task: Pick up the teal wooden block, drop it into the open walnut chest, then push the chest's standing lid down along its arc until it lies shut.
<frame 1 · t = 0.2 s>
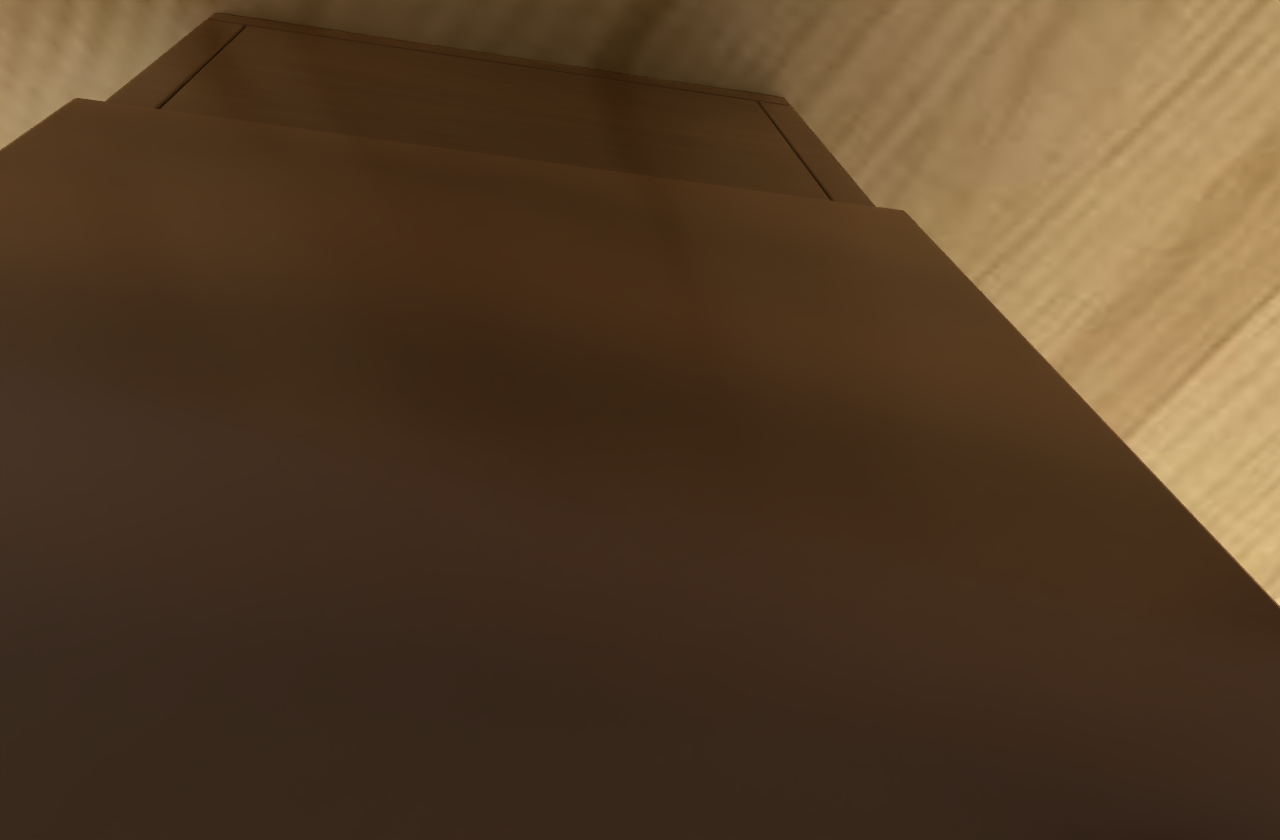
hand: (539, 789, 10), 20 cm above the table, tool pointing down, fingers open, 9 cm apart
chest: (474, 372, 30), on the table
lid: (509, 433, 11), point 17 cm above the table, hinge at 90.8°
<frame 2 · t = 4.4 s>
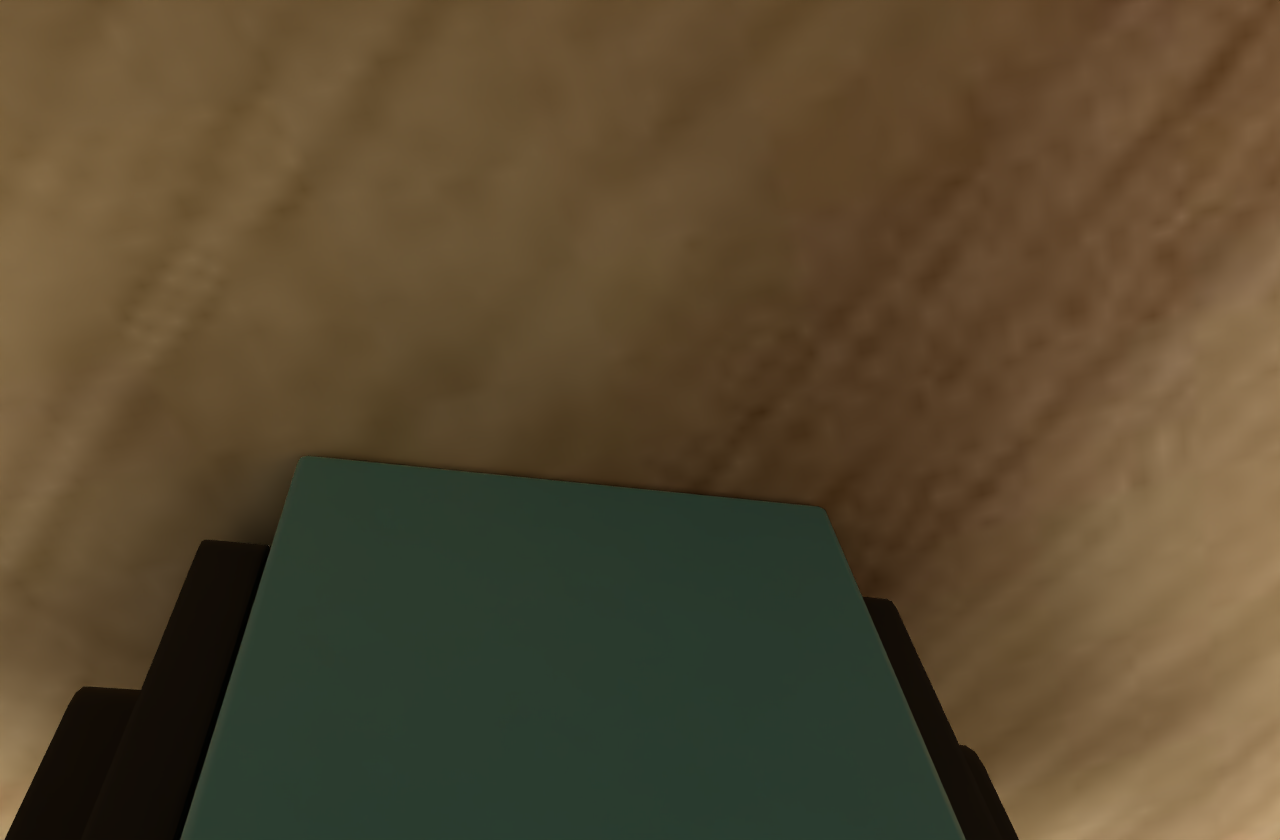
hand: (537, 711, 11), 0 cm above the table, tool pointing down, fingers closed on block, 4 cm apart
block: (537, 684, 11), on the table, touching gripper
when the fingers open (7 cm above the table, at t = 11.5 s): block drops 6 cm, resting on chest.
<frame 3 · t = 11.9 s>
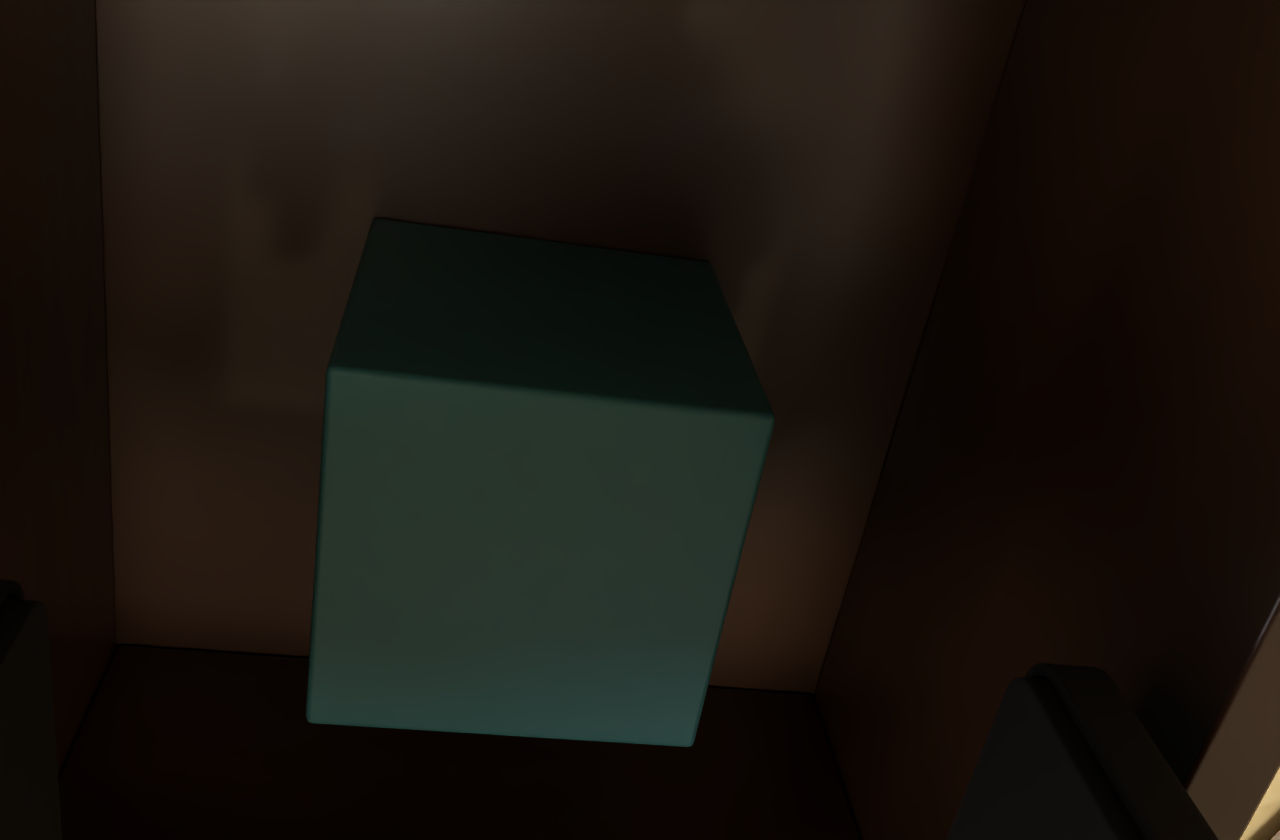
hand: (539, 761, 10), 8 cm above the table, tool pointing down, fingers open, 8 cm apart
block: (524, 390, 17), point 1 cm above the table, touching chest
chest: (539, 233, 17), on the table
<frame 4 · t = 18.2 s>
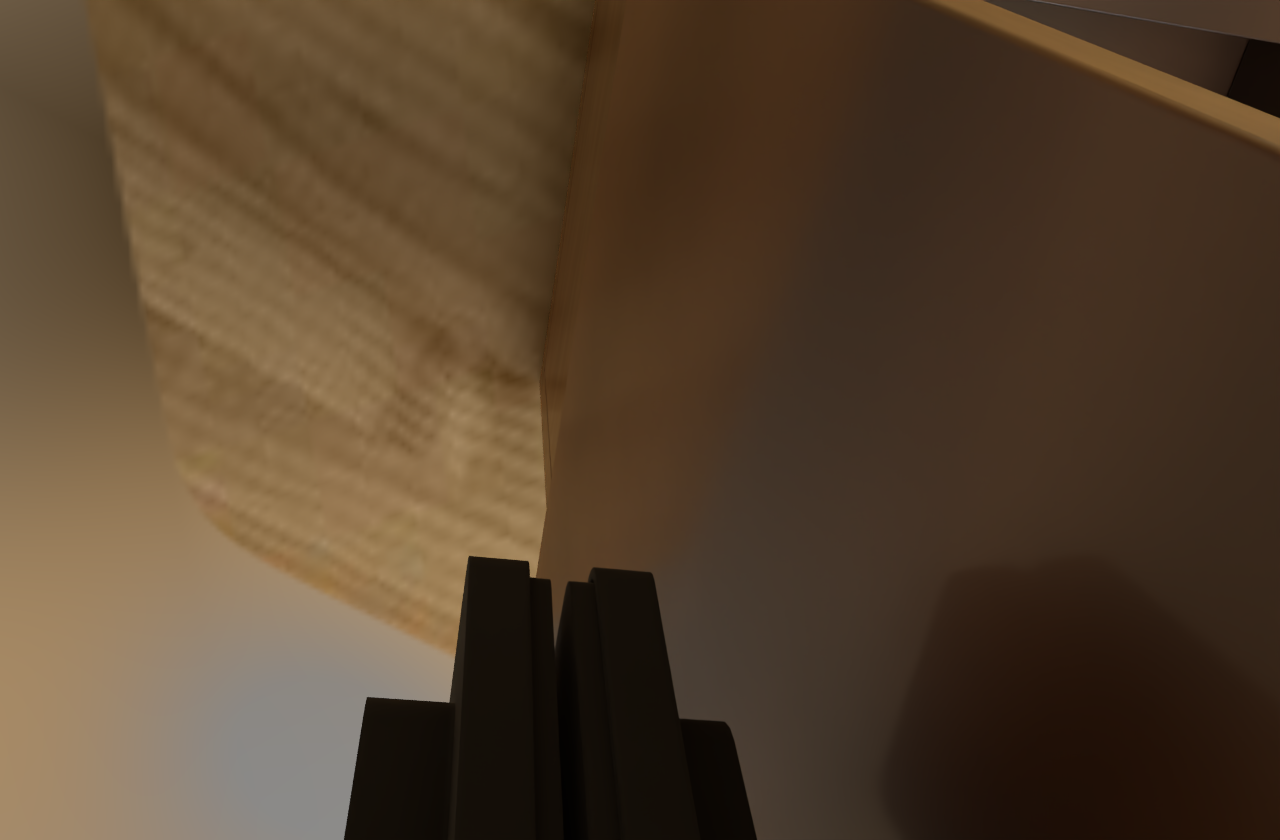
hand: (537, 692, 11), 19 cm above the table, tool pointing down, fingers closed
chest: (893, 186, 29), on the table
lid: (769, 603, 13), point 17 cm above the table, hinge at 81.4°, touching gripper
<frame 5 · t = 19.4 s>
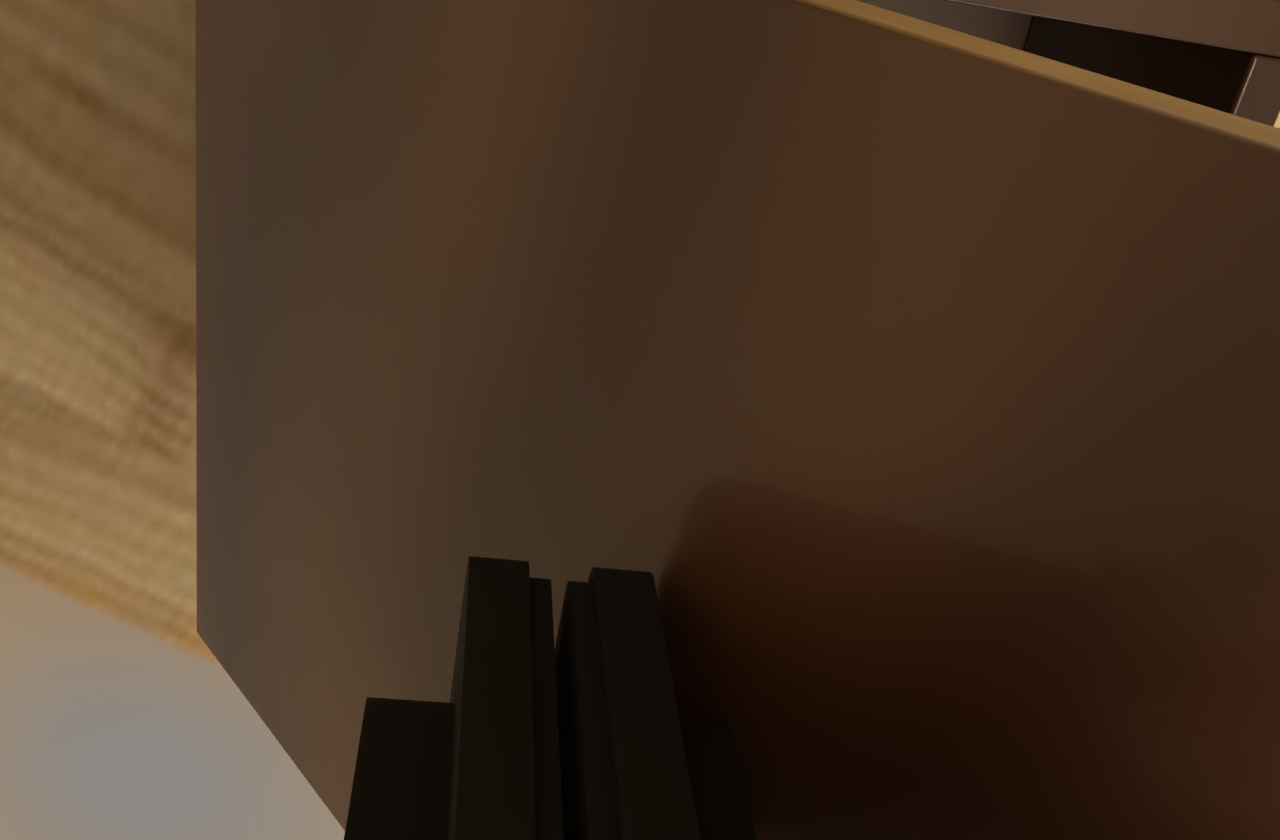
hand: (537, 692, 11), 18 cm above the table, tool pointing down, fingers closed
chest: (666, 173, 27), on the table
lid: (554, 579, 13), point 16 cm above the table, hinge at 54.8°, touching gripper
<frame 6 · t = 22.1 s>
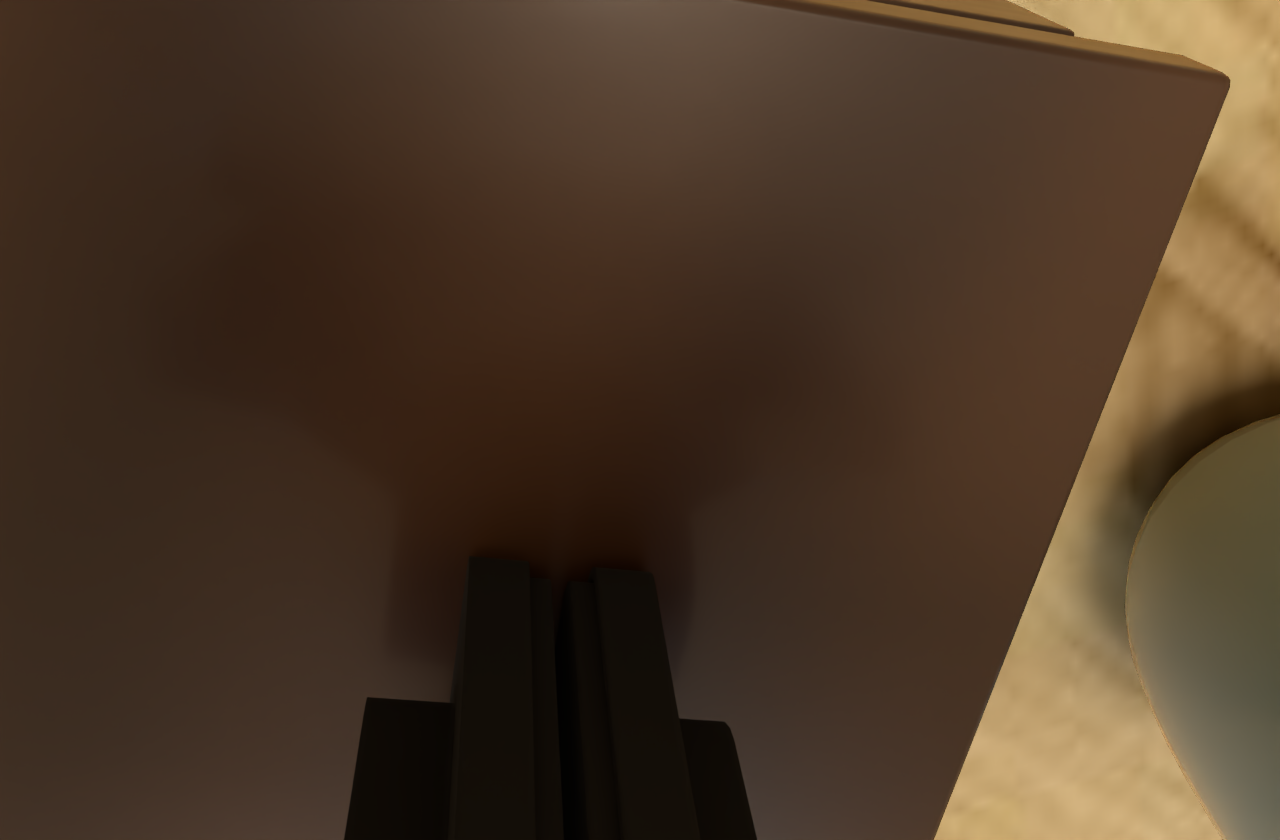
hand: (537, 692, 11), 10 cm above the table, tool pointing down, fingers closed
cup: (1253, 517, 24), on the table
chest: (261, 254, 19), on the table
lid: (119, 624, 11), point 9 cm above the table, hinge at 0.9°, touching gripper
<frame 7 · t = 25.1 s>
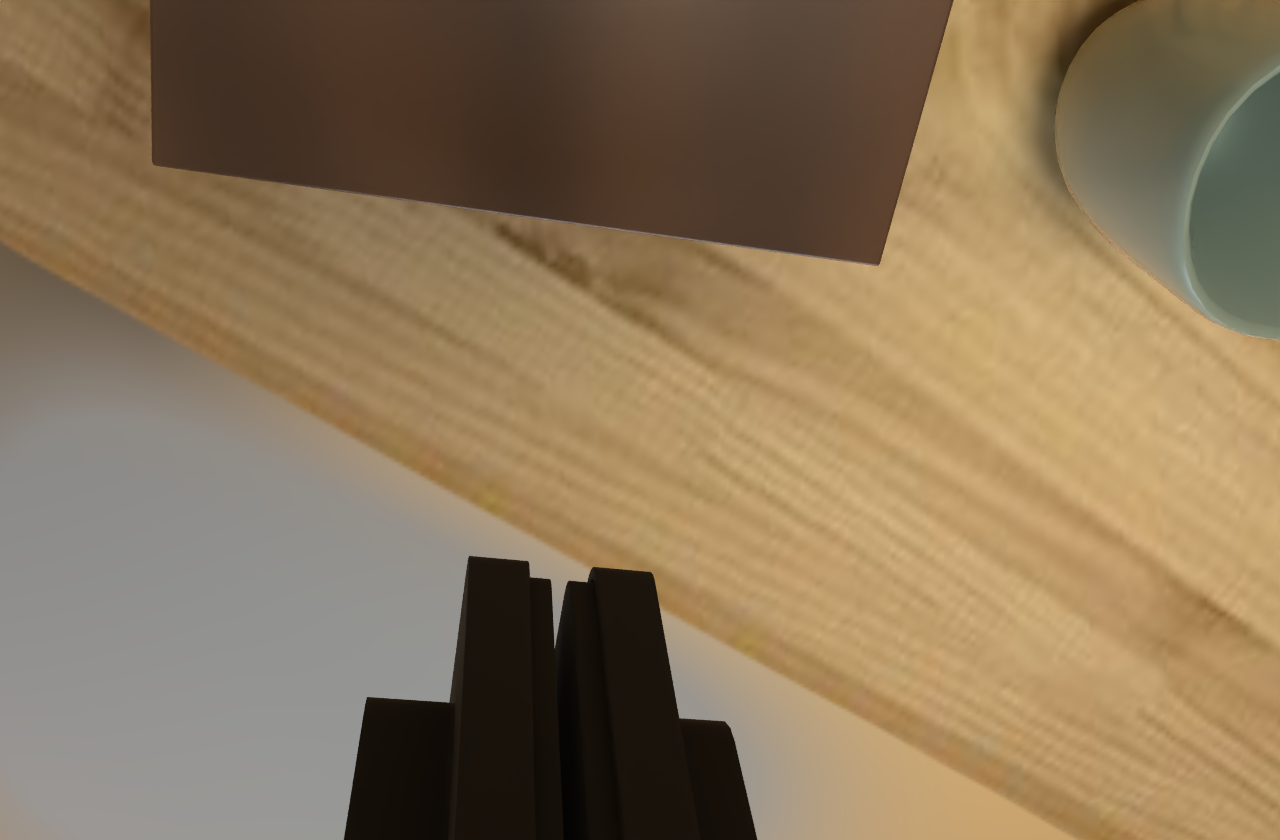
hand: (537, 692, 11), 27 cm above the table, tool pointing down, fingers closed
cup: (1138, 94, 37), on the table
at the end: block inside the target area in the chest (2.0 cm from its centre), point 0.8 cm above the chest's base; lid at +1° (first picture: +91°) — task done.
